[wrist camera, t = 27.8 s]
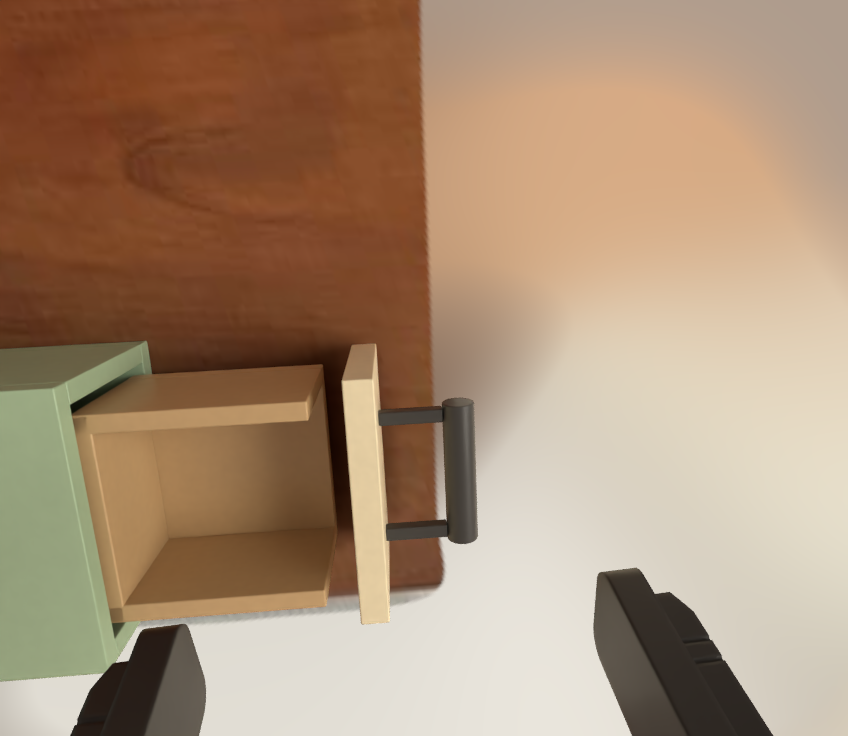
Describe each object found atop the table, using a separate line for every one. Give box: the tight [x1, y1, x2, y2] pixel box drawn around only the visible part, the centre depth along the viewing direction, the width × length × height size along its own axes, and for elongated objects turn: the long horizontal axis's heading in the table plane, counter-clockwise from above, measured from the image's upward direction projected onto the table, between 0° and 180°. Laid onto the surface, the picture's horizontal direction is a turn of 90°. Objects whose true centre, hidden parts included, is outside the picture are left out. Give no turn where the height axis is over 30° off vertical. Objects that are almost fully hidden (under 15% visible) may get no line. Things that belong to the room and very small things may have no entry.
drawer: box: [72, 344, 478, 624], centre depth 28 cm, size 16×11×7 cm
